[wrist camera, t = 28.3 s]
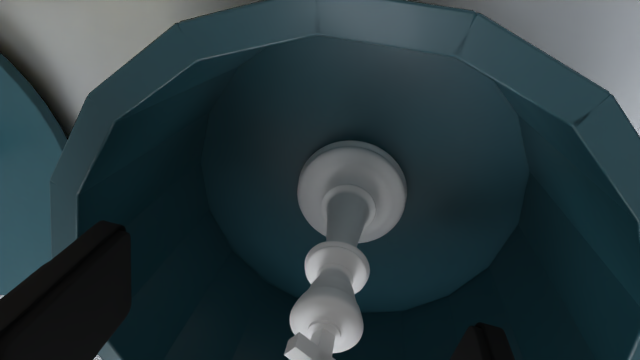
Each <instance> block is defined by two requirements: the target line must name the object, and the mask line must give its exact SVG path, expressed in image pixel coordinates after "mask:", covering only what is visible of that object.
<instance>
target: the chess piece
mask: <svg viewBox="0 0 640 360" xmlns="http://www.w3.org/2000/svg"><path fill="white" fill-rule="evenodd" d="M297 197H298V203H299V206H300V209H301V212H302V214H303V215H304V217H305V219H306V220H307V221H308V223H309V224H310V225H311V226H312V227H313V228H314V229H315V230H317V231H318V232H319V233H321V234H322V235H324V236H326V241H325V242H322V243H319V244H317V245H316V246H314V247H313V248H312V249H311V250H310V251H309V252H308V254H307V256H306V258H305V263H304V266H305V273H306V277H307V279H308V281H309V282H310V284H311V286H310V287H309V289H308V290H307V291H306V292H305V293H303V294H302V295H301V297H300V298H299V299H298V300H297V302H296V303H295V304H294V306H293V308H292V310H291V313H290V319H289V320H290V327H291V329H292V332H293V333H294V336H293V337H292V338H290V339H289V340H288V342H287V346H286V349H285V353H284V356H286V357H287V358H288V359H290V360H335V359H334V358H333V357H332V354H333V353H339V352H343V351H346V350H348V349H350V348H352V347H353V346H355V345H356V344H357V343H358V342H359V340H360V339H361V337H362V334H363V328H364V325H363V318H362V315H361V311H360V308H359V306H358V304H357V302H356V299H355V294H356V293H357V292H359V291H360V290H361V289H362V288H363V287H364V285H365V284H366V282H367V280H368V278H369V275H370V266H369V262H368V260H367V258H366V256H365V255H364V254H363V253H362V252H361V251H360V250H359V249H358V248H357V245H358V243H365V242H369V241H373V240H375V239H378V238H380V237H382V236H383V235H385V234H386V233H388V232H389V231H390V230H391V229H392V228H393V227H394V226H395V225H396V224H397V223H398V221H399V220H400V218H401V216H402V214H403V211H404V208H405V203H406V199H407V184H406V179H405V176H404V174H403V172H402V170H401V168H400V166H399V165H398V163H397V162H396V161H395V160H394V159H393V158H392V157H391V156H390V155H389V154H388V153H387V152H385V151H384V150H382V149H381V148H379V147H377V146H375V145H372V144H369V143H366V142H362V141H353V140H347V141H339V142H335V143H331V144H329V145H326V146H324V147H322V148H321V149H319V150H318V151H316V152H315V153H314V154H313V155H312V156H311V157H310V158H309V159H308V160H307V161H306V163H305V164H304V166H303V168H302V170H301V173H300V176H299V181H298V188H297Z"/></svg>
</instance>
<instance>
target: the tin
mask: <svg viewBox="0 0 640 360" xmlns="http://www.w3.org/2000/svg"><path fill="white" fill-rule="evenodd" d="M347 140H353V141H362V142H366V143H369V144H372V145H375V146H377V147H379V148H381V149H382V150H384V151H385V152H387V153H388V154H389V155H390V156H391V157H392V158H393V159H394V160H395V161H396V162H397V163H398V165H399V166H400V168H401V170H402V172H403V174H404V176H405V179H406V184H407V199H406V203H405V208H404V211H403V214H402V216H401V218H400V220H399V221H398V223H397V224H396V225H395V226H394V227H393V228H392V229H391V230H390V231H389V232H388V233H386V234H385V235H383V236H382V237H380V238H378V239H375V240H373V241H369V242H365V243H358V245H357V248H358V249H359V250H360V251H361V252H362V253H363V254H364V255H365V256H366V258H367V260H368V262H369V266H370V275H369V278H368V280H367V282H366V284H365V285H364V287H363V288H362V289H361V290H360V291H359V292H357V293H356V294H355V299H356V302H357V304H358V306H359V308H360V311H361V315H362V318H363V325H364V328H363V334H362V337H361V339H360V340H359V342H358V343H357V344H356V345H355V346H353V347H352V348H350V349H348V350H346V351H343V352H339V353H333V354H332V357H333V358H334V359H335V360H450V358H451V356H452V355H453V353H454V351H455V349H456V348H457V346H458V344H459V342H460V341H461V339H462V337H463V335H464V334H465V332H466V330H467V328H468V327H469V326H475V325H476V323H478V322H482V323H485V324H489V325H493V326H496V327H500V328H502V329H503V330H504V332H505V334H506V337H507V339H508V342H509V345H510V347H511V350H512V353H513V355H514V358H515V360H640V137H639V135H638V133H637V132H636V130H635V129H634V127H633V126H632V124H631V123H630V121H629V119H628V118H627V116H626V115H625V113H624V112H623V110H622V109H621V107H620V105H619V104H618V102H617V101H616V99H615V98H614V96H613V95H611V94H610V93H609V91H607V90H606V89H604V88H602V87H601V86H599V85H597V84H596V83H594V82H592V81H591V80H589V79H588V78H586V77H584V76H583V75H581V74H579V73H578V72H576V71H574V70H573V69H571V68H570V67H568V66H566V65H565V64H563V63H561V62H560V61H558V60H556V59H555V58H553V57H551V56H550V55H548V54H547V53H545V52H543V51H542V50H540V49H538V48H537V47H535V46H533V45H532V44H530V43H529V42H527V41H525V40H524V39H522V38H520V37H519V36H517V35H515V34H514V33H512V32H510V31H509V30H507V29H506V28H504V27H502V26H501V25H499V24H497V23H496V22H494V21H492V20H491V19H489V18H488V17H486V16H484V15H483V14H481V13H477V12H475V11H473V10H466V9H460V8H453V7H446V6H440V5H433V4H427V3H420V2H413V1H407V0H262V1H258V2H255V3H251V4H247V5H243V6H239V7H235V8H231V9H227V10H223V11H219V12H215V13H211V14H207V15H203V16H199V17H195V18H191V19H187V20H183V21H180V22H179V23H175V24H174V25H173V26H172V27H170V28H169V29H168V30H167V31H165V32H164V33H163V34H162V35H161V36H159V37H158V38H157V39H156V40H154V41H153V42H152V43H151V44H149V45H148V46H147V47H146V48H144V49H143V50H142V51H141V52H140V53H138V54H137V55H136V56H135V57H133V58H132V59H131V60H130V61H128V62H127V63H126V64H125V65H123V66H122V67H121V68H120V69H119V70H117V71H116V72H115V73H114V74H112V75H111V76H110V77H109V78H107V79H106V80H105V81H104V82H102V83H101V84H100V85H99V86H98V87H96V88H95V89H94V90H93V91H91V92H90V93H89V94H88V96H87V98H86V100H85V102H84V104H83V106H82V109H81V111H80V113H79V115H78V118H77V120H76V122H75V124H74V127H73V129H72V131H71V133H70V136H69V138H68V140H67V142H66V145H65V147H64V149H63V151H62V154H61V156H60V158H59V160H58V163H57V165H56V167H55V169H54V172H53V174H52V176H51V178H50V180H51V181H50V219H51V256H52V259H53V258H54V257H55V256H57V255H58V254H59V253H60V252H62V251H63V250H64V249H65V248H66V247H68V246H69V245H70V244H71V243H73V242H74V241H75V240H76V239H78V238H79V237H80V236H81V235H82V234H84V233H85V232H86V231H87V230H89V229H90V228H91V227H92V226H94V225H95V224H96V223H97V222H99V221H101V220H105V221H108V222H112V223H116V224H119V225H123V226H124V227H125V228H126V232H128V233H130V236H131V299H132V303H131V308H130V311H129V313H128V315H127V317H126V318H125V319H124V321H123V322H122V323H121V324H120V326H119V327H118V328H117V330H116V331H115V332H114V333H113V335H112V336H111V337H110V338H109V340H108V341H107V342H106V344H105V345H104V346H103V347H102V349H101V350H100V351H99V353H98V355H99V356H100V357H101V359H102V360H290V359H288V358H287V357H286V356H284V353H285V349H286V346H287V342H288V340H289V339H290V338H292V337H293V336H294V333H293V332H292V329H291V327H290V320H289V319H290V313H291V310H292V308H293V306H294V304H295V303H296V302H297V300H298V299H299V298H300V297H301V295H302V294H303V293H305V292H306V291H307V290H308V289H309V287H310V286H311V284H310V282H309V281H308V279H307V277H306V273H305V266H304V263H305V258H306V256H307V254H308V252H309V251H310V250H311V249H312V248H313V247H314V246H316V245H317V244H319V243H322V242H325V241H326V236H324V235H322V234H321V233H319V232H318V231H317V230H315V229H314V228H313V227H312V226H311V225H310V224H309V223H308V221H307V220H306V219H305V217H304V215H303V214H302V212H301V209H300V206H299V203H298V197H297V188H298V181H299V176H300V173H301V170H302V168H303V166H304V164H305V163H306V161H307V160H308V159H309V158H310V157H311V156H312V155H313V154H314V153H315V152H316V151H318V150H319V149H321V148H322V147H324V146H326V145H329V144H331V143H335V142H339V141H347Z"/></svg>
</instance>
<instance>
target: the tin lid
mask: <svg viewBox="0 0 640 360" xmlns="http://www.w3.org/2000/svg"><path fill="white" fill-rule="evenodd" d="M66 142H67V138H66V136H65V134H64V132H63V130H62V128H61V127H60V125H59V123H58V122H57V120H56V119H55V117H54V116H53V114H52V113H51V111H50V109H49V108H48V106H47V105H46V103H45V102H44V101H43V100H42V98H41V97H40V96H39V94H38V93H37V92H36V91H35V89H34V88H33V87H32V85H31V84H30V83H29V82H28V81H27V80H26V79H25V77H24V76H23V75H22V74H21V73H20V72H19V71H18V70H17V69H16V68H15V67H14V66H13V65H12V64H11V62H10V61H9V60H7V59H6V58H5V57H4V56H3V55H2V54H1V53H0V295H6V294H8V293H9V292H10V291H11V290H12V289H14V288H15V287H16V286H17V285H19V284H20V283H21V282H22V281H24V280H25V279H26V278H27V277H29V276H30V275H31V274H32V273H34V272H35V271H36V270H37V269H38V268H40V267H41V266H42V265H44V264H45V263H47V262H49V261H50V260H52V256H51V219H50V181H51V180H50V178H51V176H52V174H53V172H54V169H55V167H56V165H57V163H58V160H59V158H60V156H61V154H62V151H63V149H64V147H65V145H66Z"/></svg>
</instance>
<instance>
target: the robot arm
mask: <svg viewBox="0 0 640 360" xmlns="http://www.w3.org/2000/svg"><path fill="white" fill-rule="evenodd" d="M131 303H132V299H131V236H130V233H128V232H126V228H125V227H124V226H123V225H119V224H116V223H112V222H108V221H105V220H101V221H99V222H97V223H96V224H95V225H94V226H92V227H91V228H90V229H89V230H87V231H86V232H85V233H84V234H82V235H81V236H80V237H79V238H78V239H76V240H75V241H74V242H73V243H71V244H70V245H69V246H68V247H66V248H65V249H64V250H63V251H62V252H60V253H59V254H58V255H57V256H55V257H54V258H53V259H52V260H50V261H49V262H47V263H45V264H44V265H42V266H41V267H40V268H38V269H37V270H36V271H35V272H34V273H32V274H31V275H30V276H29V277H27V278H26V279H25V280H24V281H22V282H21V283H20V284H19V285H17V286H16V287H15V288H14V289H12V290H11V291H10V292H9V293H8V294H6V295H5V296H4V297H3V298H1V299H0V360H93V359H94V358H95V356H96V355H97V354H98V353H99V351H100V350H101V349H102V347H103V346H104V345H105V344H106V342H107V341H108V340H109V338H110V337H111V336H112V335H113V333H114V332H115V331H116V330H117V328H118V327H119V326H120V324H121V323H122V322H123V321H124V319H125V318H126V317H127V315H128V313H129V311H130V308H131ZM450 360H515V358H514V355H513V353H512V350H511V347H510V345H509V342H508V339H507V337H506V334H505V332H504V330H503V329H502V328H500V327H496V326H493V325H489V324H485V323H482V322H478V323H476V325H475V326H469V327H468V328H467V330H466V332H465V334H464V335H463V337H462V339H461V341H460V342H459V344H458V346H457V348H456V349H455V351H454V353H453V355H452V356H451V358H450Z"/></svg>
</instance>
